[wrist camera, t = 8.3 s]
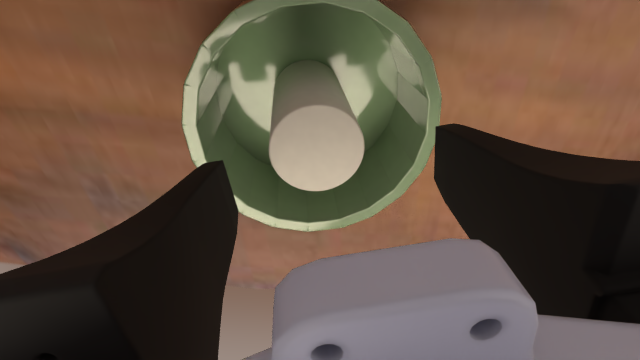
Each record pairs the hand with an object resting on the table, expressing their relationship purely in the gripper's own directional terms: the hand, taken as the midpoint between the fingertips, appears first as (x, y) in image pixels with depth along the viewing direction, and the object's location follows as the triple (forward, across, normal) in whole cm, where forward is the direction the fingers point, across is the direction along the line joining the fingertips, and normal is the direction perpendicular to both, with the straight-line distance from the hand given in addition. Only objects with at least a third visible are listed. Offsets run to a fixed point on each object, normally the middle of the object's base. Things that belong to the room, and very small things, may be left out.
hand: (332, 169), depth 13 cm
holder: (+9, 0, 0) cm, 9 cm away
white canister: (+8, 0, 0) cm, 9 cm away
